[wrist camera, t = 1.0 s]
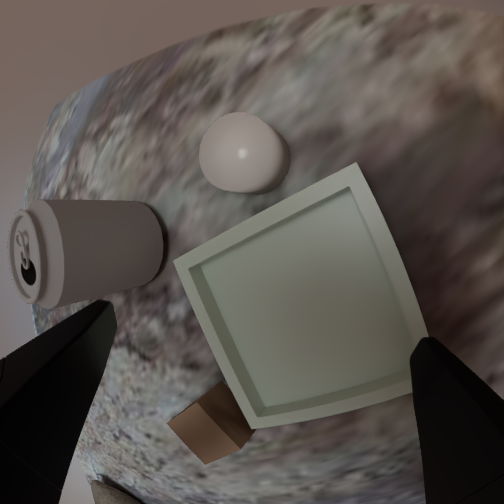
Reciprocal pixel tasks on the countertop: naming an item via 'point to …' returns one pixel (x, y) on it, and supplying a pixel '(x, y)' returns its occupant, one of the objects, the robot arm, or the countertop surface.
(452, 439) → the robot arm
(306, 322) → the tray
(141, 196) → the countertop surface
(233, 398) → the walnut block
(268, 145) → the off-white egg
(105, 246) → the can
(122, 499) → the rock
